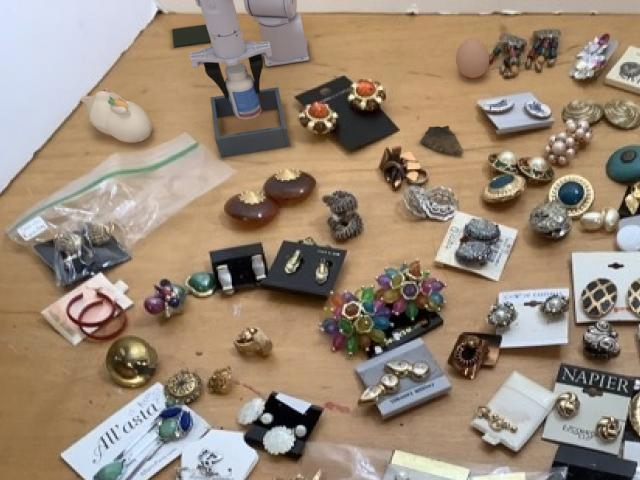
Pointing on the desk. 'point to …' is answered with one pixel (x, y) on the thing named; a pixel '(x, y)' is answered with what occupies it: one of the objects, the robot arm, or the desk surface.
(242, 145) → the open box
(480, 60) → the egg
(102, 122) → the cat figurine
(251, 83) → the pill bottle
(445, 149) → the arrowhead
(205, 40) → the pad
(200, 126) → the desk surface
